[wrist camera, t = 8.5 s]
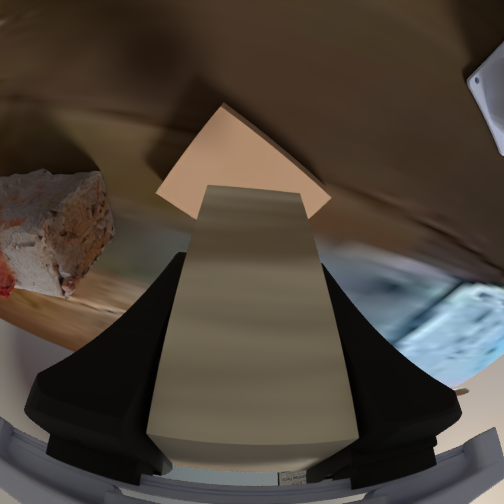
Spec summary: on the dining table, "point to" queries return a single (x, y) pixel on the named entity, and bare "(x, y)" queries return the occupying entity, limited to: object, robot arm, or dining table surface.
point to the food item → (51, 230)
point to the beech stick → (252, 344)
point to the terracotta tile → (237, 165)
